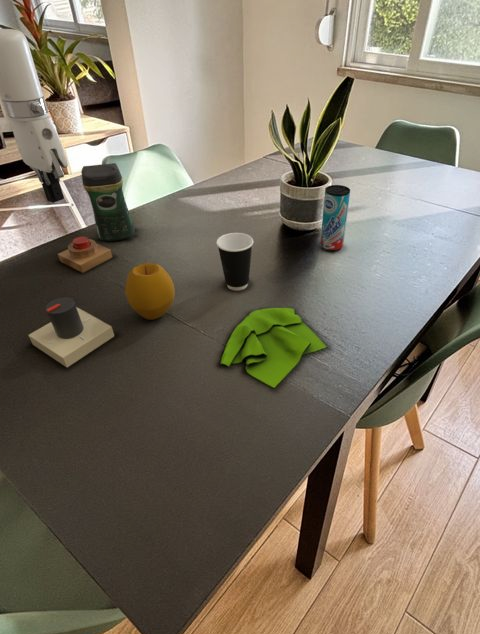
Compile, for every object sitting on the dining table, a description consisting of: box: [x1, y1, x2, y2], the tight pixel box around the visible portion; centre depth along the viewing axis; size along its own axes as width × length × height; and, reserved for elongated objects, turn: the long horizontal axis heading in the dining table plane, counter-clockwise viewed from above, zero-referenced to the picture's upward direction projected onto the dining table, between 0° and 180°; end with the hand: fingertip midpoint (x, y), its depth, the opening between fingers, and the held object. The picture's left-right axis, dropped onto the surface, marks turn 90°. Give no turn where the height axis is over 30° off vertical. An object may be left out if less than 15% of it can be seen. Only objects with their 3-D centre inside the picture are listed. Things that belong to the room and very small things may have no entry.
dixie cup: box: [215, 232, 254, 292], centre depth 94 cm, size 8×8×11 cm
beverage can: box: [319, 184, 351, 252], centre depth 106 cm, size 6×6×15 cm
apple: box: [124, 262, 176, 320], centre depth 86 cm, size 10×10×12 cm
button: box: [72, 236, 90, 250], centre depth 104 cm, size 4×4×2 cm
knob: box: [45, 297, 84, 339], centre depth 80 cm, size 5×5×6 cm
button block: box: [57, 238, 113, 274], centre depth 106 cm, size 9×9×4 cm
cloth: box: [220, 307, 328, 389], centre depth 82 cm, size 20×22×2 cm
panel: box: [27, 306, 115, 368], centre depth 83 cm, size 11×11×3 cm
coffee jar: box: [80, 162, 136, 242], centre depth 110 cm, size 10×8×19 cm
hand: (56, 200), depth 95 cm, fingers closed
